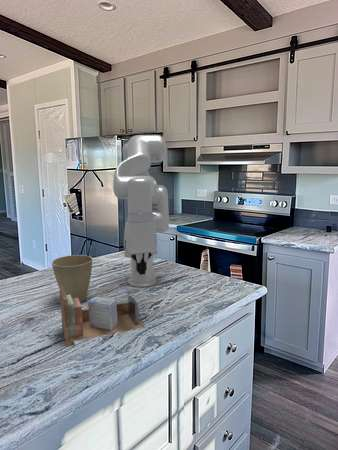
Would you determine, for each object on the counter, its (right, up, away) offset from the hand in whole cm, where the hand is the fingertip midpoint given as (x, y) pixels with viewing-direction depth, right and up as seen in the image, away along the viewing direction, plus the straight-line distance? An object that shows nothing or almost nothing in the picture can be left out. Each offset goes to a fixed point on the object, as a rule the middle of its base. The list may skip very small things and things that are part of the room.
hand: (141, 273), depth 115 cm
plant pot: (-27, -13, +22) cm, 37 cm away
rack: (-12, -18, -2) cm, 21 cm away
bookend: (-3, -16, +2) cm, 16 cm away
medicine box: (-12, -17, -2) cm, 21 cm away
